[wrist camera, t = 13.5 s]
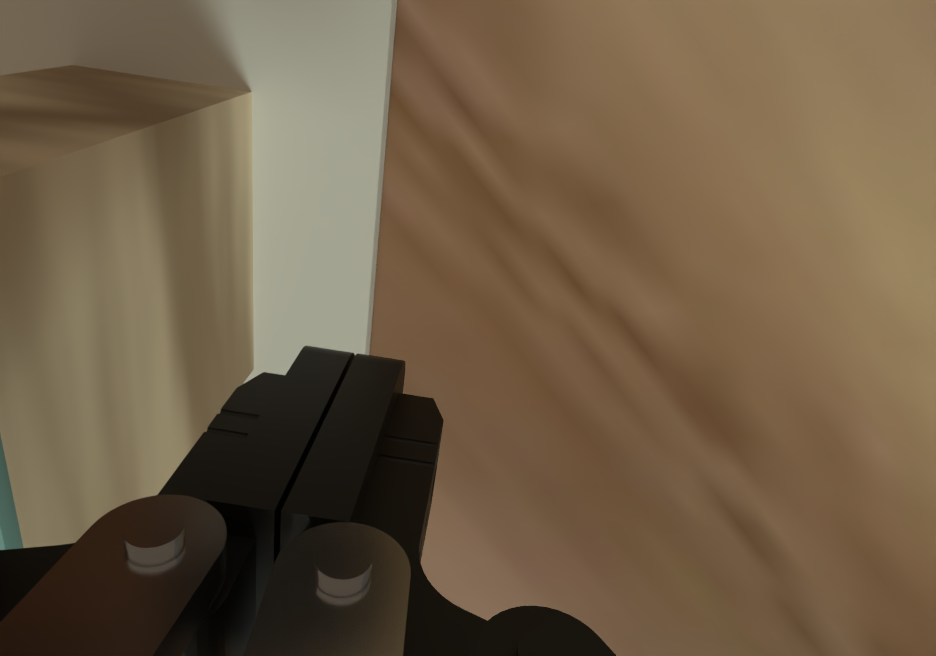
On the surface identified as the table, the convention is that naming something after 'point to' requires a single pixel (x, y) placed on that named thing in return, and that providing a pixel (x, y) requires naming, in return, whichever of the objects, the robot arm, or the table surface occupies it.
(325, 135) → the mat
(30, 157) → the block
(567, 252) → the table surface
